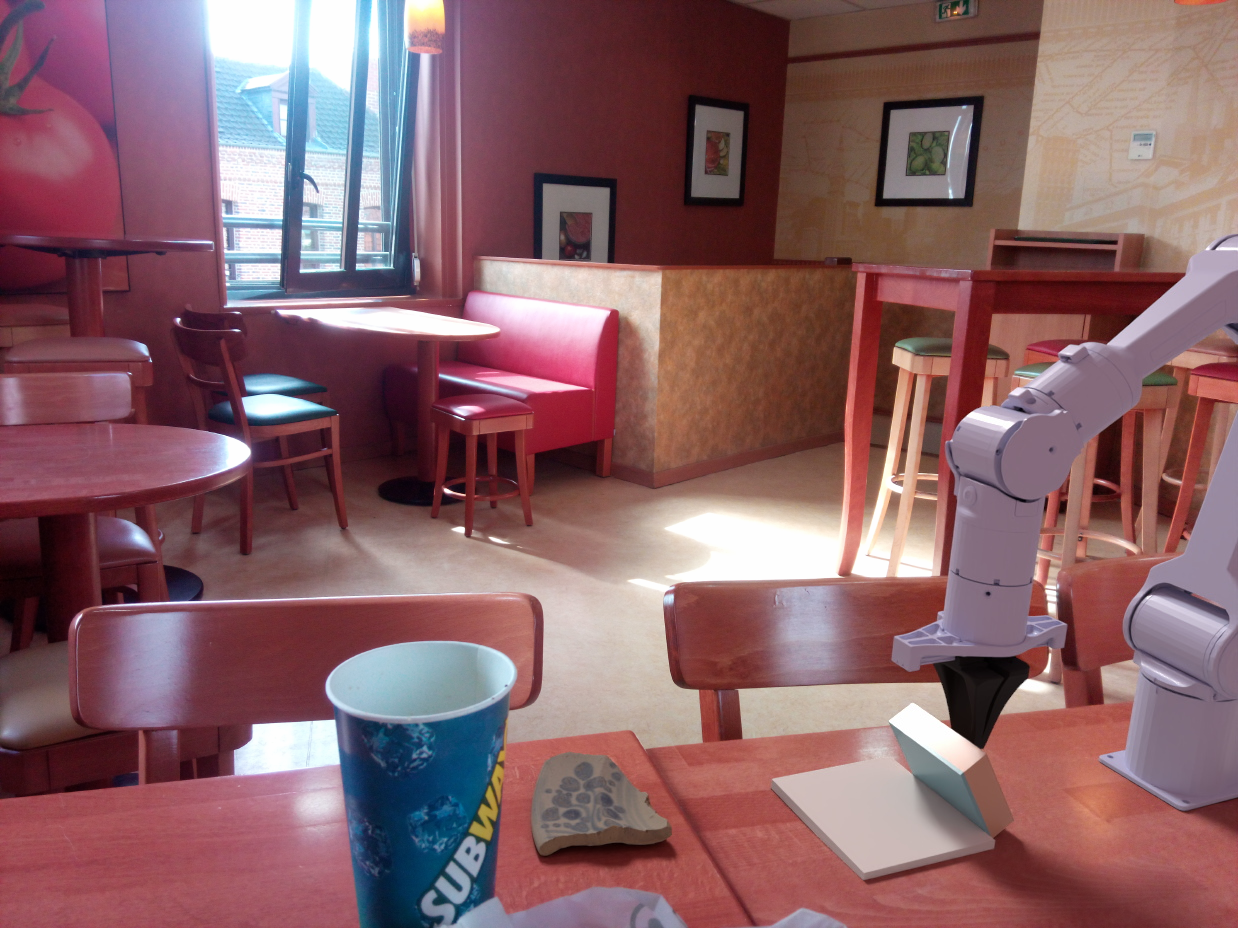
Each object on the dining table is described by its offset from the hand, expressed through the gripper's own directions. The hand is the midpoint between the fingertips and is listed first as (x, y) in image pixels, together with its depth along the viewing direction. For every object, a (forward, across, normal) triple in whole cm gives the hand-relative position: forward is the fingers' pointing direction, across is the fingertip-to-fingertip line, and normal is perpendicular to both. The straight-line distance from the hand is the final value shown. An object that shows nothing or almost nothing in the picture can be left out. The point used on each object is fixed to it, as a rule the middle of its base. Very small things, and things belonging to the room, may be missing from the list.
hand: (967, 743), depth 70 cm
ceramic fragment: (+5, +22, -6) cm, 23 cm away
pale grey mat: (+6, +7, -1) cm, 9 cm away
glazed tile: (+5, 0, 0) cm, 5 cm away
